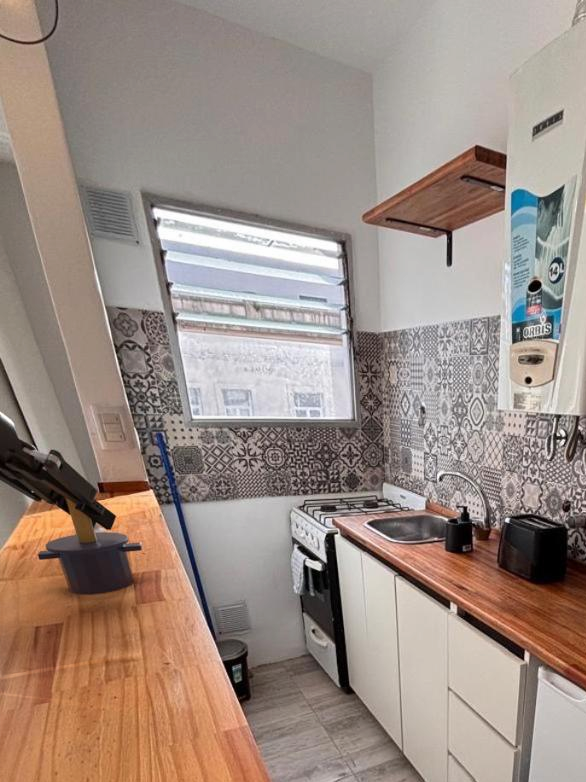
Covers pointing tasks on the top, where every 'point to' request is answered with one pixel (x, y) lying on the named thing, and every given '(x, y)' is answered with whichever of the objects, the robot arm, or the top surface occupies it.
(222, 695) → the top surface
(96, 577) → the pot
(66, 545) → the lid
